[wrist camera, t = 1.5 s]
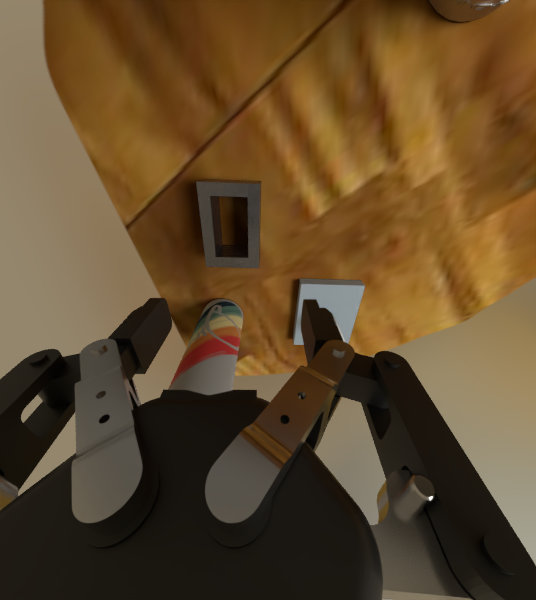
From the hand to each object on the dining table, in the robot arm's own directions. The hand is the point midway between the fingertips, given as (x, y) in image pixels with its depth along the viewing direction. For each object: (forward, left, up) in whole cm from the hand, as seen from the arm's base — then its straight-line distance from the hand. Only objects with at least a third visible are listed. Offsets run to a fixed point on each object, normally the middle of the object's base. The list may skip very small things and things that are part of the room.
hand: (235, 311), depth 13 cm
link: (-2, -2, -15) cm, 15 cm away
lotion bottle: (+11, -4, -15) cm, 19 cm away
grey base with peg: (+10, +10, -15) cm, 21 cm away
